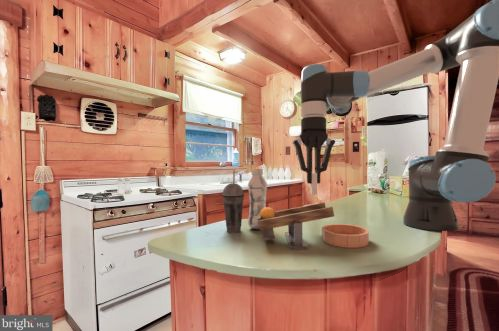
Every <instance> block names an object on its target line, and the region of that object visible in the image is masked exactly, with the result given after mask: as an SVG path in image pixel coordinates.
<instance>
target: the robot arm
mask: <svg viewBox="0 0 499 331" xmlns="http://www.w3.org/2000/svg"><path fill="white" fill-rule="evenodd" d="M459 66H460V67H459ZM455 67H459V72H458V76H457V82H456V86H455V92H454V95H453V99H452V100H453V101H452V107H451V110H450V115H449V120H448V123H447V130H446V135H445V139H444V144H443V146H441V147H440V148H439V149H437V150H436V151H435V155H423V156H418V157H417V156H416V157H413V158H411V159H410V160H409V161H408V162H409V163H408V167H407V168H408V169H407V170H408V204H407V206H406V209H405V212H404V214H403V217H402V218H403V219H402V222H403V224H404V225H406V226H409V227H411V228H415V229H420V230H427V231H435V232H436V231H437V232H453V231H457V230H459V219H458V218H457V214H456V212H455V210H454V208H453V205H452V202H454V203H455V202H456V203H474V202H478V201H480V200H482V199H484V198H486V197H487V196H488V195H490V193H491V192H492V191H493V189H494V187H495V185H496V180H497V179H496V178H497V177H496V172H495V171H494V170H493V168H492V166H491V165H490V164H489V160H490V155H489V154H488V153H487V152H486V151H485V150H484V147H485V142H486V137H487V133H488V129H489V124H490V119H491V115H492V110H493V107H494V101H495V96H496V92H497V88H498V87H497V86H498V82H499V0H490V1H489V2H486V4H484V5H483V6H480V7H479V8H478V9H476V10H475V12H473V14H471V15H470V16H469V17H468V18H467V19H464V21H462V22H461V23H460V24H459V25H458V26H456V27H455V28H453V29H452V30H451V31H449V33H447V34H446V35H444V36H443V37H442V38H440V39H438V40H437V41H435V42H432V43H431V44H428V45H426V46H425V47H424V49H423V50H420V51H418V52H416V53H413V54H411V55H409V56H406V57H403V58H400V59H398V60H395V61H393V62H389V63H388V64H386V65H383V66H380V67H378V68H375V69H373V70H370V71H367V70H351V71H350V70H348V71H334V72H333V71H332V72H330V71H329V72H328V70H327V67H326V65H324V64H318V63H314V64H308V65H306V66H304V67H303V69H302V70H301V76H300V78H301V79H300V80H301V81H300V90H301V91H300V98H301V99H300V101H301V103H300V104H301V105H300V107H301V108H300V109H301V110H300V117H301V120H300V135H299V137H297V138H296V139H295V140H293V141H292V144H293V146H294V148H295V151H296V154H297V159H298V163H299V166H300V167H299V168H300V170H301V171H303V172H305V173H306V182H307V184H309V186H310V187H309V194H310V195H313V196H315V195H316V196H317V195H318V184H320V183H321V173H323V172H325V171H327V169H328V166H329V161H330V157H331V153H332V150H333V147H334V145H335V144H336V140H335V139H332V138H330V137H329V135H328V133H327V118H326V116H327V103H328V105H329V106H330V107H331V108H333V109H341V108H343V107H345V106H346V105H348V104H351V103H353V102H356V101H358V100H361V99H363V98H365V97H369V96H371V95H374V94H376V93H379V92H381V91H384V90H388V89H389V88H392V87H394V86H397V85H400V84H402V83H405V82H408V81H411V80H413V79H416V78H419V77H421V76H424V75H426V74H438V73H441V72H442V71H447V70H450V69H453V68H455ZM302 143H303V145H304V146H305V149H306V163H305V158H304V153H303V150H302V146H301V145H302ZM324 143H325V145H326V147H325V148H324V152H323V153H324V154H323V158H321V157H322V156H321V154H322V153H321V152H322V146H323V145H324ZM313 150H314V172H313ZM321 161H322V162H321Z"/></svg>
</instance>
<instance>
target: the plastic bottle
mask: <svg viewBox="0 0 499 331" xmlns="http://www.w3.org/2000/svg"><path fill="white" fill-rule="evenodd" d="M263 175H264V171H263V169H262V168H252V169H251V178H250V179H249V181H248V184H247V188H248V196H249V211H248V212H249V213H248V220H247V223H248V227H249V228H250V229H254V230H260V228H259V223H258V216H257V214H259V213H260V212H261V210H262V209H263V208H265V207H267V206H266V205H267V203H266V202H267V191H268V182H267V181H266V179H265V178H264V177H263Z"/></svg>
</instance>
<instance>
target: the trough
mask: <svg viewBox="0 0 499 331" xmlns="http://www.w3.org/2000/svg"><path fill="white" fill-rule="evenodd" d="M334 212H335V211H334V208H333V206H328V207H326V203H325V201H323V202H316V203H310V204H304V205H303V206H299V207H298V206H297V207H292V208H288V209H281V210H276V211H274V218H269V219H264V220H262V218H261V216H260V213H259V214H257V216H258V223H259V228H260V229H259V231H261V232H262V237H263V238H262V239H263V241H264V242H265V241H269V240H274V239H276V237H275V231H274V229H275V228H281V227H286V226H288V225H292V224H294V222H302V223H307V222H311V221H316V220H317V221H318V220H324V219H327V218H332V217H335V213H334Z"/></svg>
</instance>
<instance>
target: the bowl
mask: <svg viewBox="0 0 499 331" xmlns="http://www.w3.org/2000/svg"><path fill="white" fill-rule="evenodd" d="M321 238H322V241H323V243H326V244H327V245H331V246H333V247H339V248H343V249H344V248H345V249H357V248H364V247H367V246H368V245H369V241H370V230H369V229H367V228H365V227H362V226H360V225H355V224H346V223H331V224H325V225H323V226H322V227H321Z"/></svg>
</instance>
